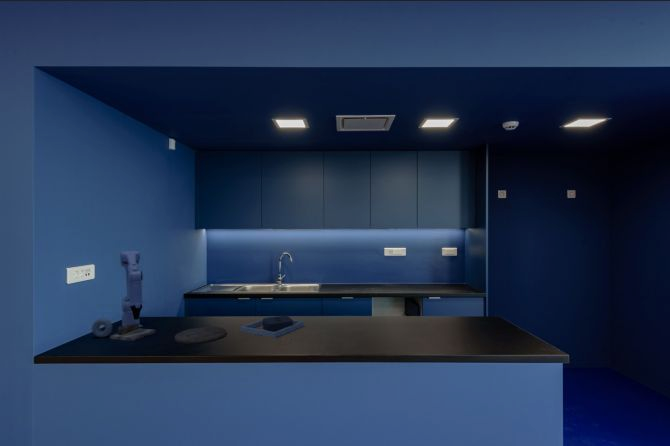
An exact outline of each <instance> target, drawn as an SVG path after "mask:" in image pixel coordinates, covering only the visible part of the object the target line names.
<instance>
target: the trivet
mask: <svg viewBox="0 0 670 446" xmlns="http://www.w3.org/2000/svg"><path fill="white" fill-rule="evenodd" d="M226 336H227V330H226V329H225V328H223V327H219V326H204V327H203V326H201V327H194V328H189V329H185V330H182V331H180V332H178V333H175V336H174V341H175V342H176V343H177V344H178V343H179V344H182V345H199V344H200V345H201V344H206V343H211V342H215V341H218V340H220V339H223V338H225V337H226Z"/></svg>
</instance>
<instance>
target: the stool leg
mask: <svg viewBox="0 0 670 446" xmlns="http://www.w3.org/2000/svg"><path fill="white" fill-rule="evenodd" d="M139 324H140V322H139V323H133V324H130V325H127V326H124V327H123V326H122V325H120V326H118V327H117V333H118V335H123V334H125V333H128V332H131V331H134V330H137V329H140V327H139Z"/></svg>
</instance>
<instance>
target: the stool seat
mask: <svg viewBox="0 0 670 446" xmlns="http://www.w3.org/2000/svg"><path fill="white" fill-rule="evenodd" d="M128 325H130V324H128ZM125 326H127V325H125ZM123 327H124V326H123ZM156 332H157V331H156V329H150V328H149V329H148V328H139V329H137V330H134V331H131V332H128V333H125V334H123V335H118V332H117V333H115V334H112V335H109V339H110V340H118V341H131V342H133V341H136V339H137V340H139V339H142V338H144V336H145V337H147V335H148V336H151V335H153V334H155V333H156Z"/></svg>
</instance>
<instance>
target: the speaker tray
mask: <svg viewBox="0 0 670 446" xmlns="http://www.w3.org/2000/svg"><path fill="white" fill-rule="evenodd" d="M292 320H293V325H292V326H289V327H287V328H284V329H281V330H279V331H276V332H271V331H265V330H264V329H259V328H258V327H261V326H263V319H259V320H258V321H255V322H251V323H248V324H245V325H243V326H240V332H241V333H246V334H250V335H251V334H252V335H258V336H261V337H262V336H263V337H268V338H274V339H275V338H279V337H281V336H283V335H286V334H288V333H290V332H292V331H295V330H297V329H300V328H304V325H305V324H304V323H305V322H304V321H300V320H294V319H292Z"/></svg>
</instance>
